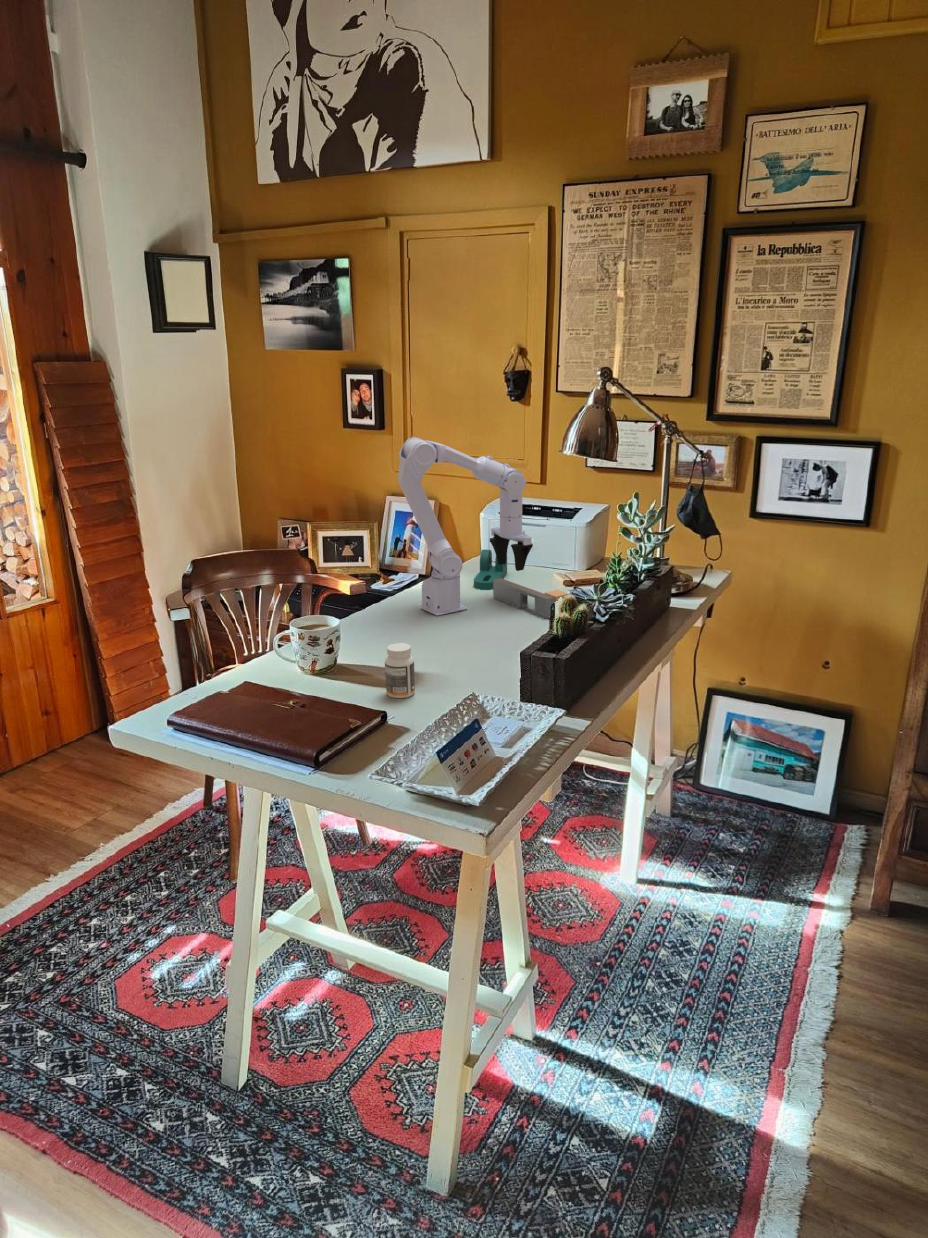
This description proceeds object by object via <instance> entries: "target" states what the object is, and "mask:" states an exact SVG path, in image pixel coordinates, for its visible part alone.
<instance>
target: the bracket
mask: <svg viewBox="0 0 928 1238" xmlns="http://www.w3.org/2000/svg"><path fill="white" fill-rule="evenodd" d="M494 563H495V564H494V565H493V554H492V550H491V549H481V551H480V556H479V572H478V573H477V575H476V576H475V577H474V578H473V588H474V589H475V590H479V589H480V590H481V591H492V590H493V580H494V579H499V578H502V579H505V578H506V575H507V574H508V559H507V560H506V564H502V565H499V564H498V562H497V558H496V557H495V560H494ZM491 589H492V590H491Z"/></svg>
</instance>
